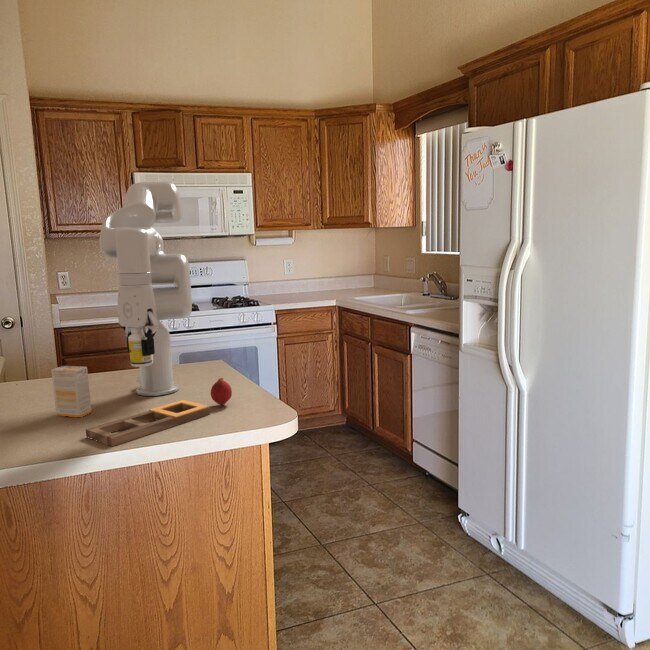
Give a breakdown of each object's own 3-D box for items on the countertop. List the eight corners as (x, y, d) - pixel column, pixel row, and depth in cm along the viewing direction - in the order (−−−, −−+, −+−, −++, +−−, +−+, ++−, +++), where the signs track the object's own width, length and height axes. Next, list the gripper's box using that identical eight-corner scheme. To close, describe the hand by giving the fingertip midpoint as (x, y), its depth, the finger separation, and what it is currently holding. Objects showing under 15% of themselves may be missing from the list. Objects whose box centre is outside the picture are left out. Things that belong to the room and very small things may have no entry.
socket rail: (86, 437, 143) (85, 428, 143) (183, 407, 166) (182, 399, 166) (112, 446, 137) (111, 436, 136) (209, 414, 159) (209, 405, 159)
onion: (228, 408, 164) (226, 380, 162) (208, 408, 165) (206, 379, 164) (235, 402, 169) (233, 375, 168) (216, 402, 170) (214, 374, 169)
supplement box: (92, 413, 163) (88, 366, 161) (80, 418, 159) (75, 370, 157) (68, 411, 166) (63, 364, 164) (55, 416, 162) (50, 368, 160)
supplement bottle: (133, 362, 151) (130, 324, 149) (155, 361, 151) (152, 323, 149) (127, 367, 145) (124, 328, 144) (150, 366, 146) (147, 327, 144)
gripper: (102, 280, 147) (108, 352, 150) (142, 283, 136) (148, 360, 140) (129, 277, 153) (134, 346, 156) (169, 280, 142) (175, 354, 145)
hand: (141, 352), depth 148 cm, fingers closed on supplement bottle, 5 cm apart
